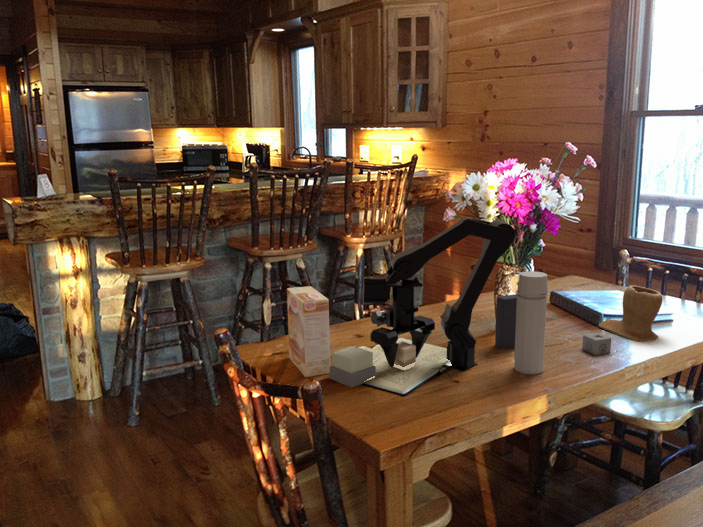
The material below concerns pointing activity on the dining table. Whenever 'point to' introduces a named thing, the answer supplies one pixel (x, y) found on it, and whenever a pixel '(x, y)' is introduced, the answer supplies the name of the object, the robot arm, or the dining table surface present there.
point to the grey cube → (596, 343)
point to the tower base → (351, 376)
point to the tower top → (352, 359)
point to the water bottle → (530, 322)
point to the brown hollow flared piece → (636, 314)
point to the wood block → (405, 354)
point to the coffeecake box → (308, 330)
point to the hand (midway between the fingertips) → (403, 361)
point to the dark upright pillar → (506, 321)
